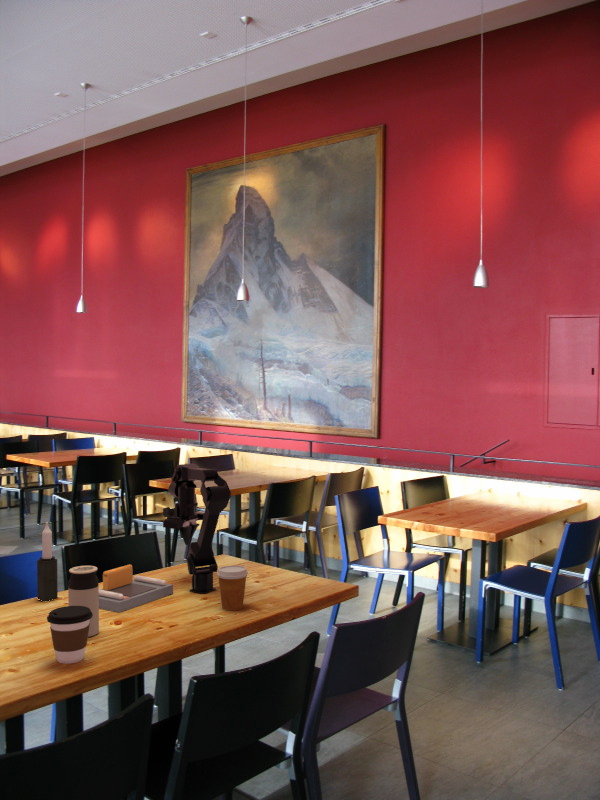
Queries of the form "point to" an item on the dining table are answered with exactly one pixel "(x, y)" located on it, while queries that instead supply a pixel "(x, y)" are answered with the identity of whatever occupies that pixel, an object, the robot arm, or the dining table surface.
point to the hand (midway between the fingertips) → (187, 544)
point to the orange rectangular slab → (117, 577)
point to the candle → (47, 569)
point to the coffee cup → (70, 632)
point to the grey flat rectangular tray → (134, 594)
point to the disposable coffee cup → (232, 586)
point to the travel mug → (85, 593)
